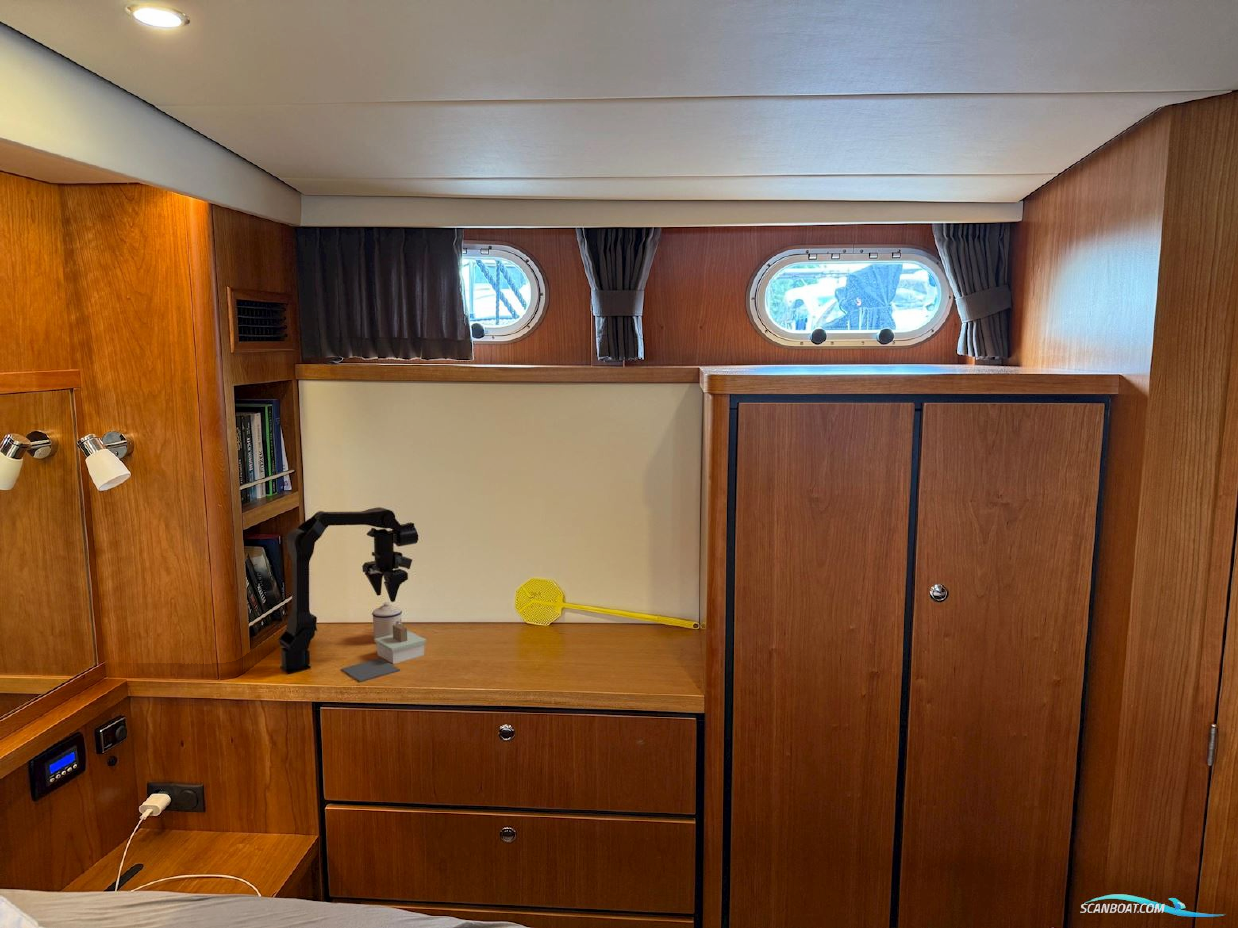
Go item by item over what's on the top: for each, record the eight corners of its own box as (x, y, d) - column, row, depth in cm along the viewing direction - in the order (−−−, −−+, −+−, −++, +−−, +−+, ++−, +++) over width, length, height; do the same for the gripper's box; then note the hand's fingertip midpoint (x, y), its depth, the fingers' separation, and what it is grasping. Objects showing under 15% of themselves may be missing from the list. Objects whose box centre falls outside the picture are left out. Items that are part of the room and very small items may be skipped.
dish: (393, 663, 227) (392, 650, 227) (377, 654, 234) (376, 641, 234) (424, 655, 234) (423, 642, 234) (407, 646, 241) (407, 633, 241)
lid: (392, 651, 226) (391, 635, 225) (374, 641, 234) (373, 626, 233) (426, 642, 234) (425, 626, 233) (407, 633, 242) (407, 618, 241)
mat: (359, 682, 214) (359, 680, 214) (341, 669, 223) (340, 668, 223) (400, 670, 222) (400, 669, 222) (380, 659, 231) (380, 657, 231)
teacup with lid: (399, 643, 244) (398, 606, 243) (369, 643, 244) (368, 607, 242) (407, 630, 256) (406, 595, 255) (379, 630, 256) (378, 595, 254)
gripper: (423, 549, 238) (424, 599, 240) (393, 539, 252) (395, 587, 253) (389, 556, 230) (390, 607, 232) (360, 545, 244) (362, 594, 246)
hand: (385, 598), depth 241 cm, fingers open, 9 cm apart
